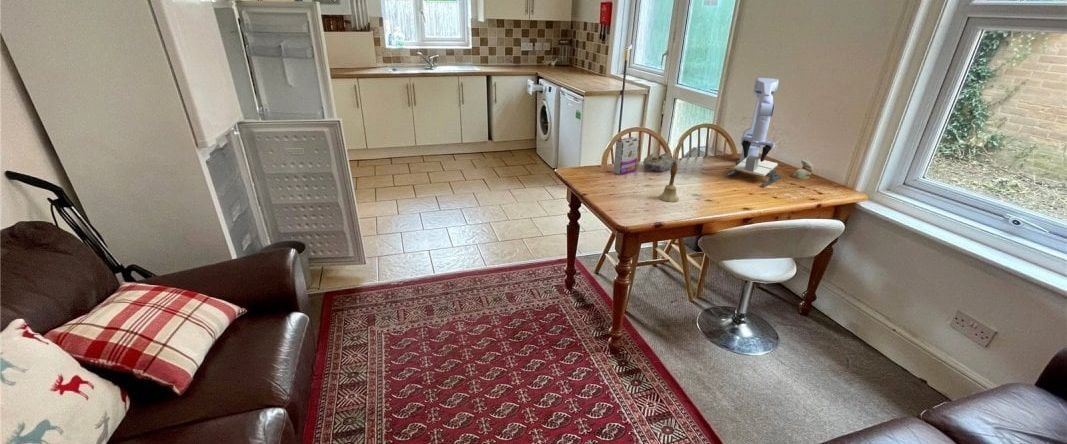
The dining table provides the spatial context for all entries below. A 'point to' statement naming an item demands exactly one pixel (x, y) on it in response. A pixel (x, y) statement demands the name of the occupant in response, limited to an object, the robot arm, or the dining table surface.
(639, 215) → the dining table surface
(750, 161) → the gray rectangular block
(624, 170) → the candy bar box
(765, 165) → the trapdoor
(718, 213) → the dining table surface
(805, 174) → the open clam shell
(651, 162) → the geode
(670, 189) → the hand bell
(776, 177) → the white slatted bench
